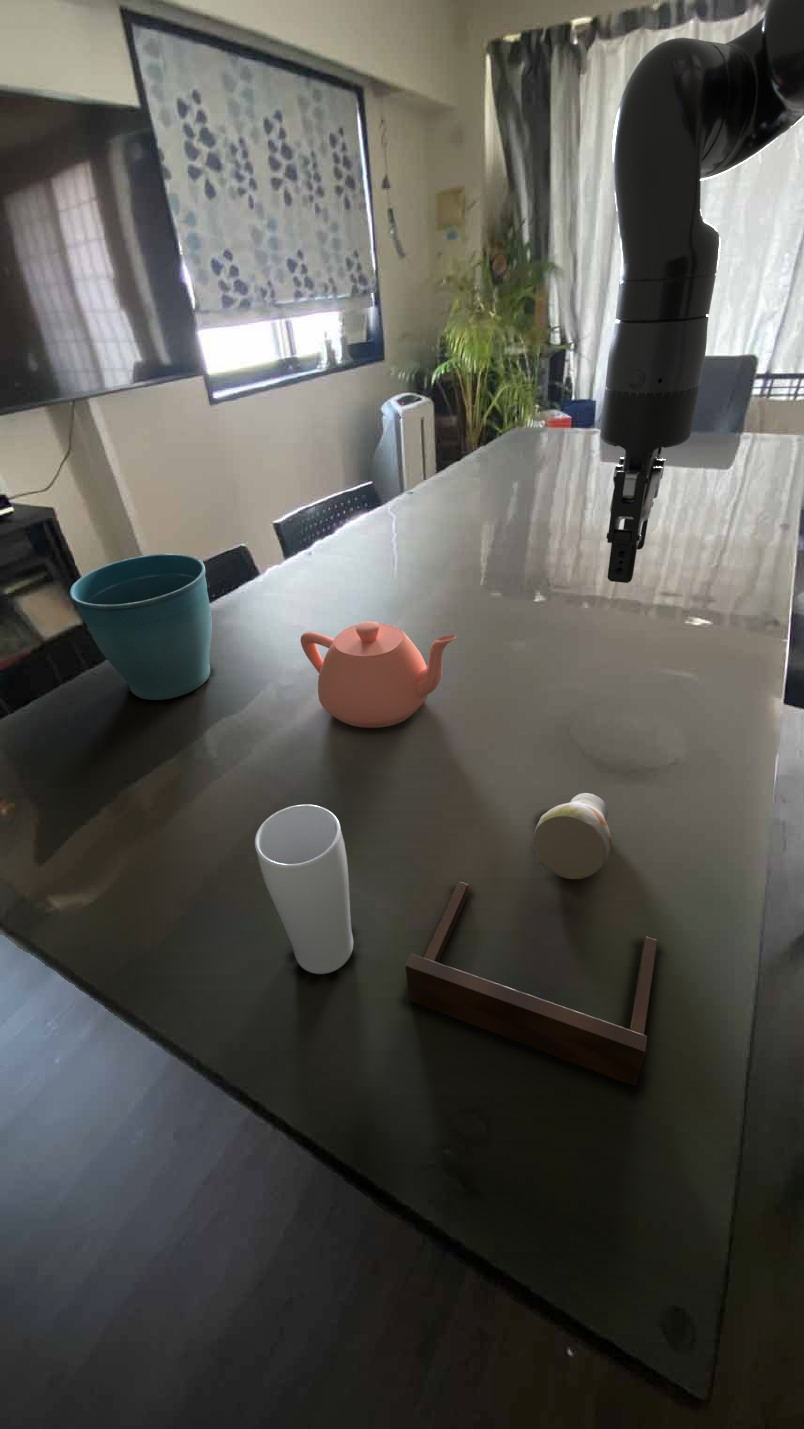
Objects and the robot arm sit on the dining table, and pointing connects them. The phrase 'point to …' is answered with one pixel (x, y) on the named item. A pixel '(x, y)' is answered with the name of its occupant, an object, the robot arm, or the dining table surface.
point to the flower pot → (150, 621)
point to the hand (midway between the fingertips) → (626, 563)
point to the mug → (574, 837)
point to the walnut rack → (531, 1008)
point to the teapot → (373, 673)
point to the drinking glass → (308, 884)
